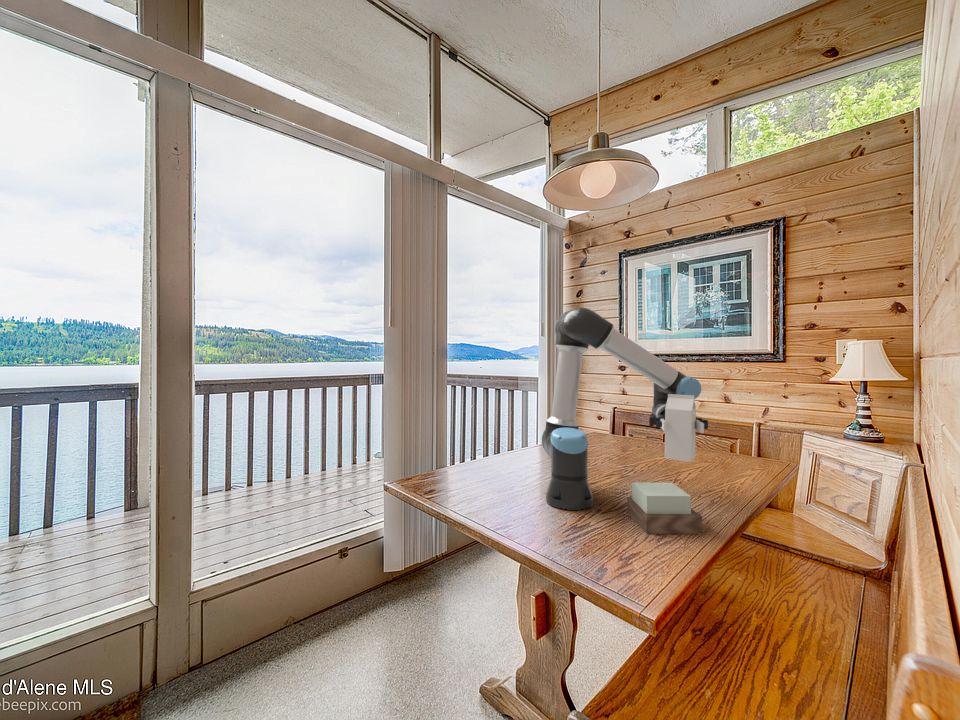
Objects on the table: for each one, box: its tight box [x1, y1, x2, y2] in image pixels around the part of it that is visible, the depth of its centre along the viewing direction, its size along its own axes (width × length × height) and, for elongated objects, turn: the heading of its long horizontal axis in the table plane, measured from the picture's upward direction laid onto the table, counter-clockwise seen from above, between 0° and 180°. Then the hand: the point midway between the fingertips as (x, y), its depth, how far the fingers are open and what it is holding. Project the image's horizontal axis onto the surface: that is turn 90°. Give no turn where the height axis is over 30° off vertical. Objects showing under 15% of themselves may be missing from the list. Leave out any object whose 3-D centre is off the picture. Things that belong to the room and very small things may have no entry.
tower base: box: [626, 496, 703, 534], centre depth 119 cm, size 15×15×5 cm
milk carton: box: [664, 394, 697, 463], centre depth 122 cm, size 7×7×19 cm
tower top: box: [631, 481, 692, 514], centre depth 119 cm, size 12×12×5 cm
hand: (683, 427), depth 118 cm, fingers closed on milk carton, 9 cm apart
